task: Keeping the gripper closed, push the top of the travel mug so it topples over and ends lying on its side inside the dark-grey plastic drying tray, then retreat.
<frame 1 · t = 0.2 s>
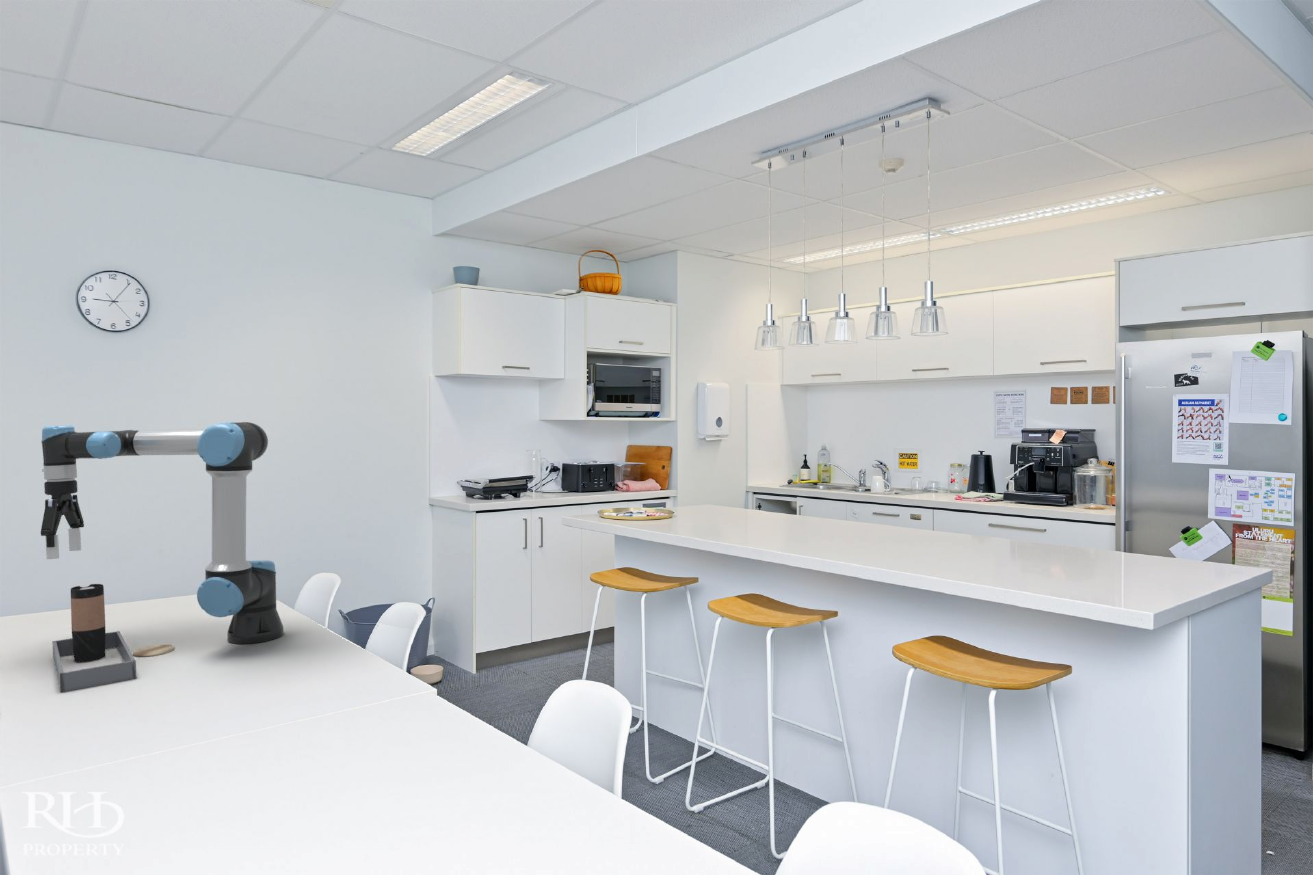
hand: (64, 554, 230), 28 cm above the table, fingers open, 13 cm apart
travel mug: (89, 659, 223), resting in drying tray
cork coaster: (153, 651, 229), on the table
drying tray: (92, 667, 216), on the table
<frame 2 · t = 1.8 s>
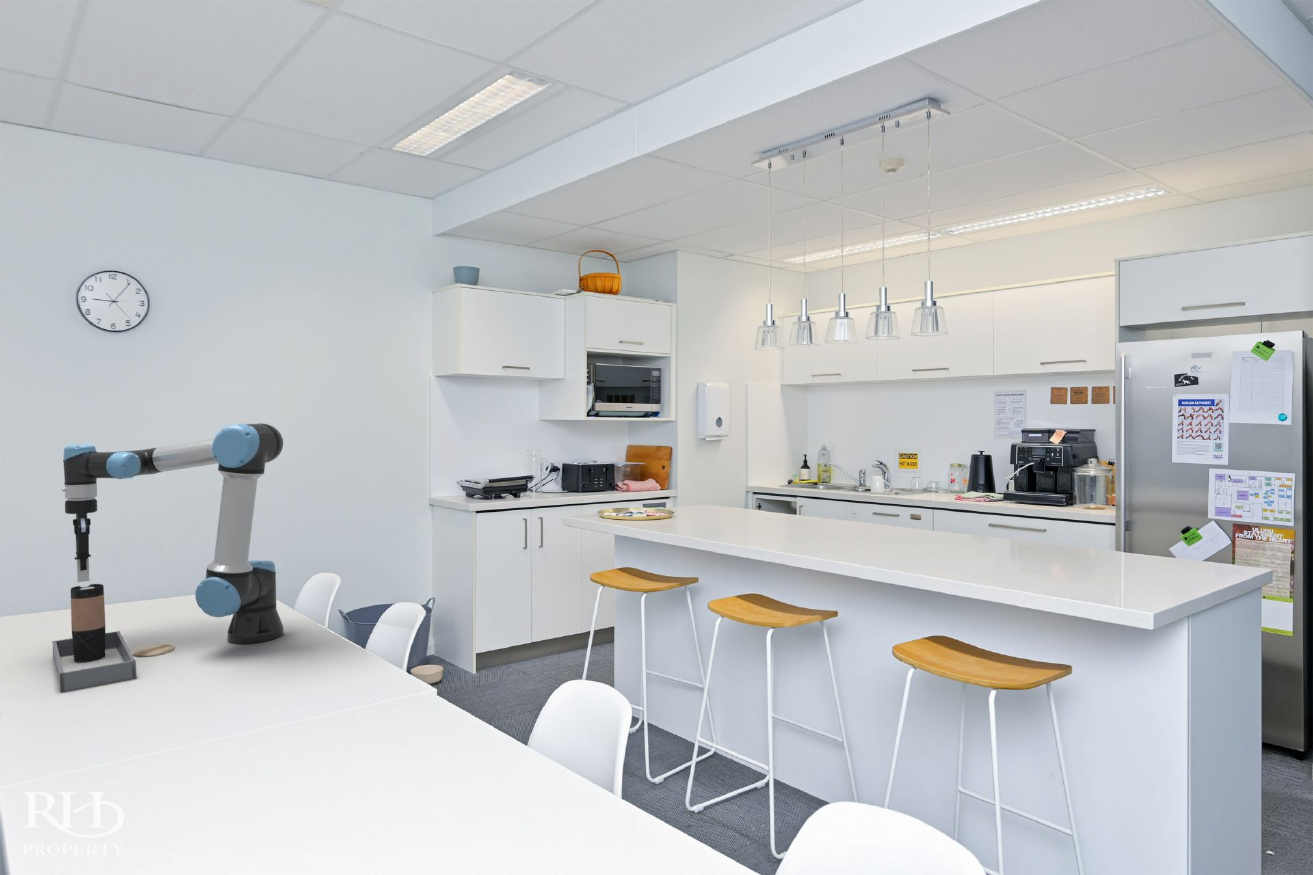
hand: (83, 580, 231), 20 cm above the table, fingers closed
nothing on the table moved.
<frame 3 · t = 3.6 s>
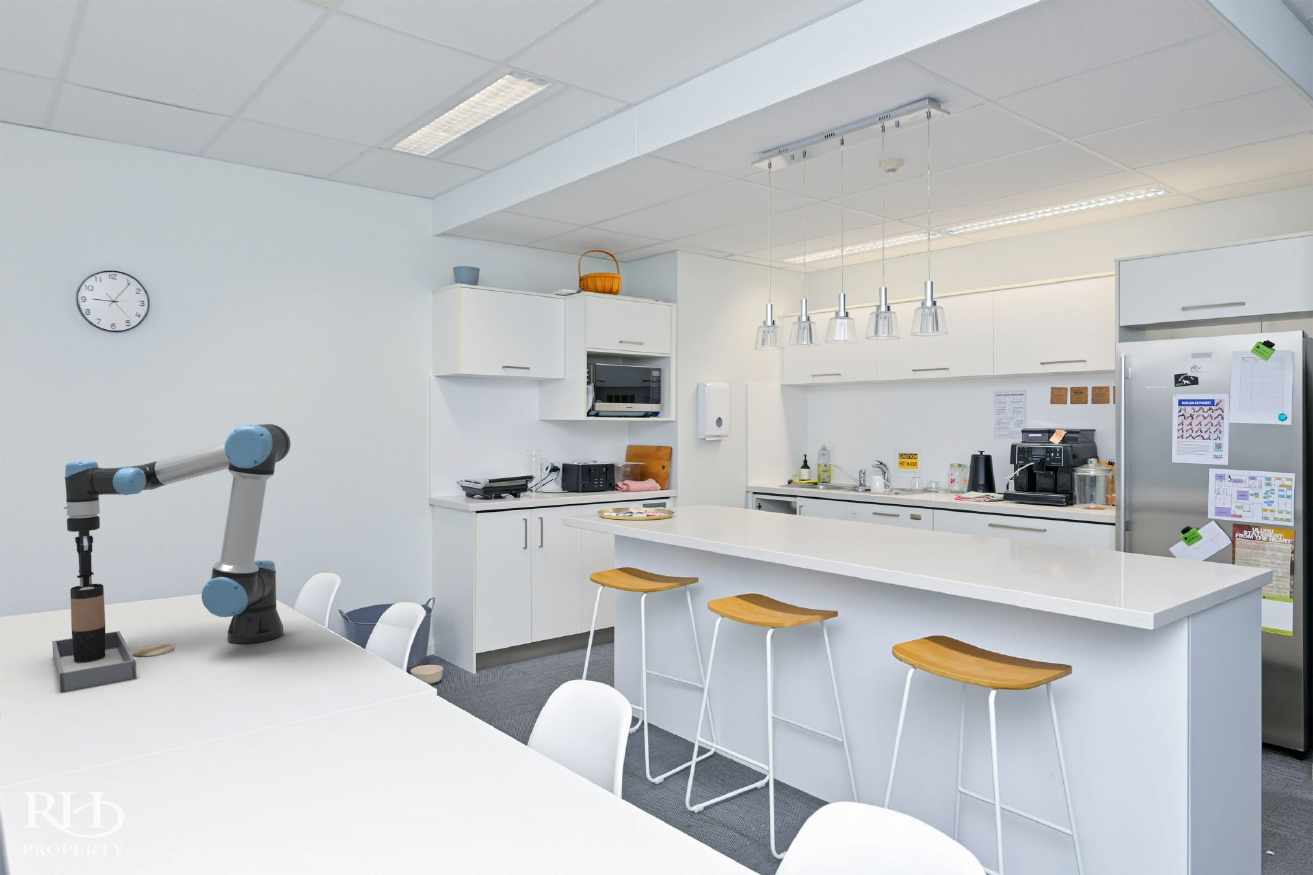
hand: (86, 599, 227), 15 cm above the table, fingers closed
travel mug: (89, 658, 223), resting in drying tray, touching gripper
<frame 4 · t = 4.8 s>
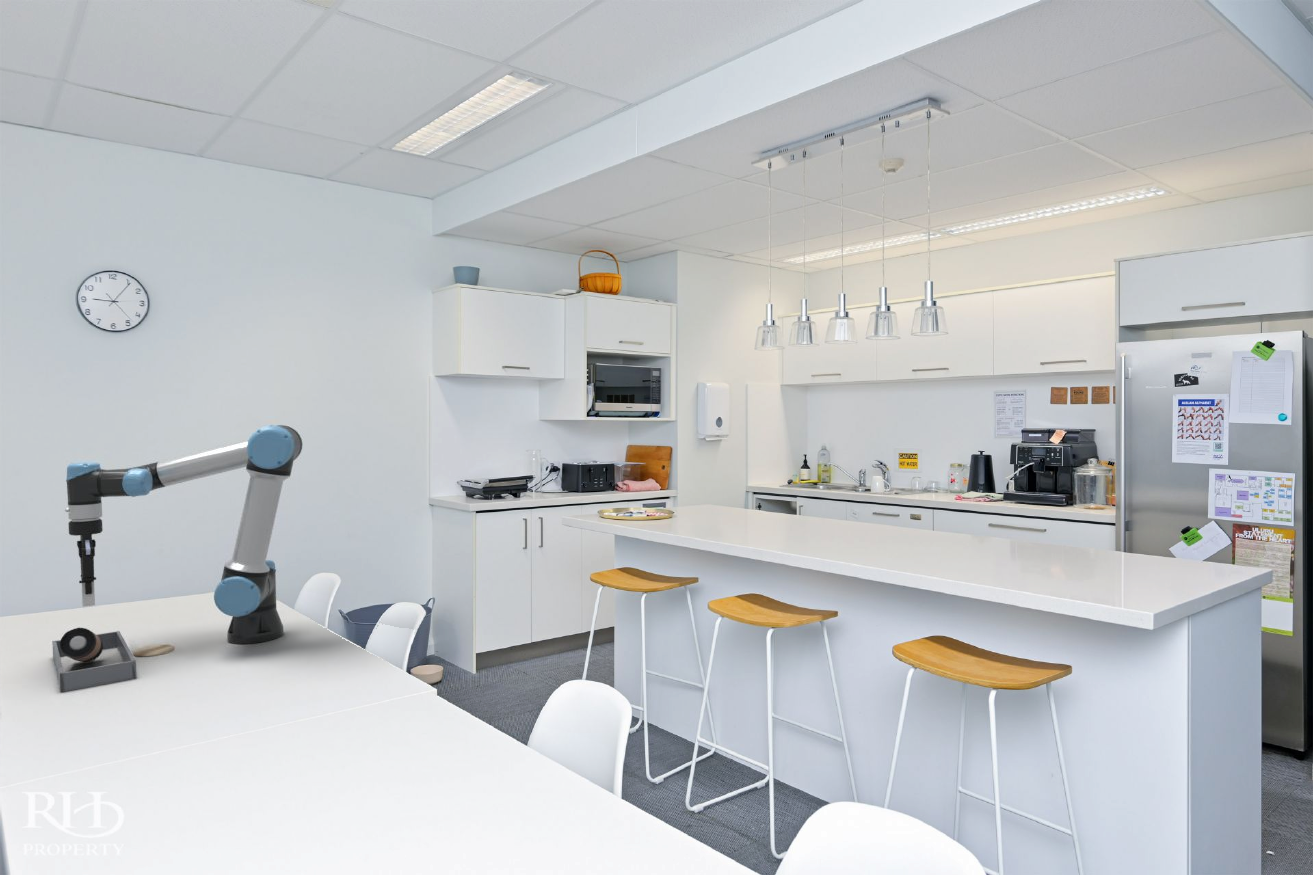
hand: (88, 605, 221), 15 cm above the table, fingers closed
travel mug: (87, 648, 221), point 3 cm above the table
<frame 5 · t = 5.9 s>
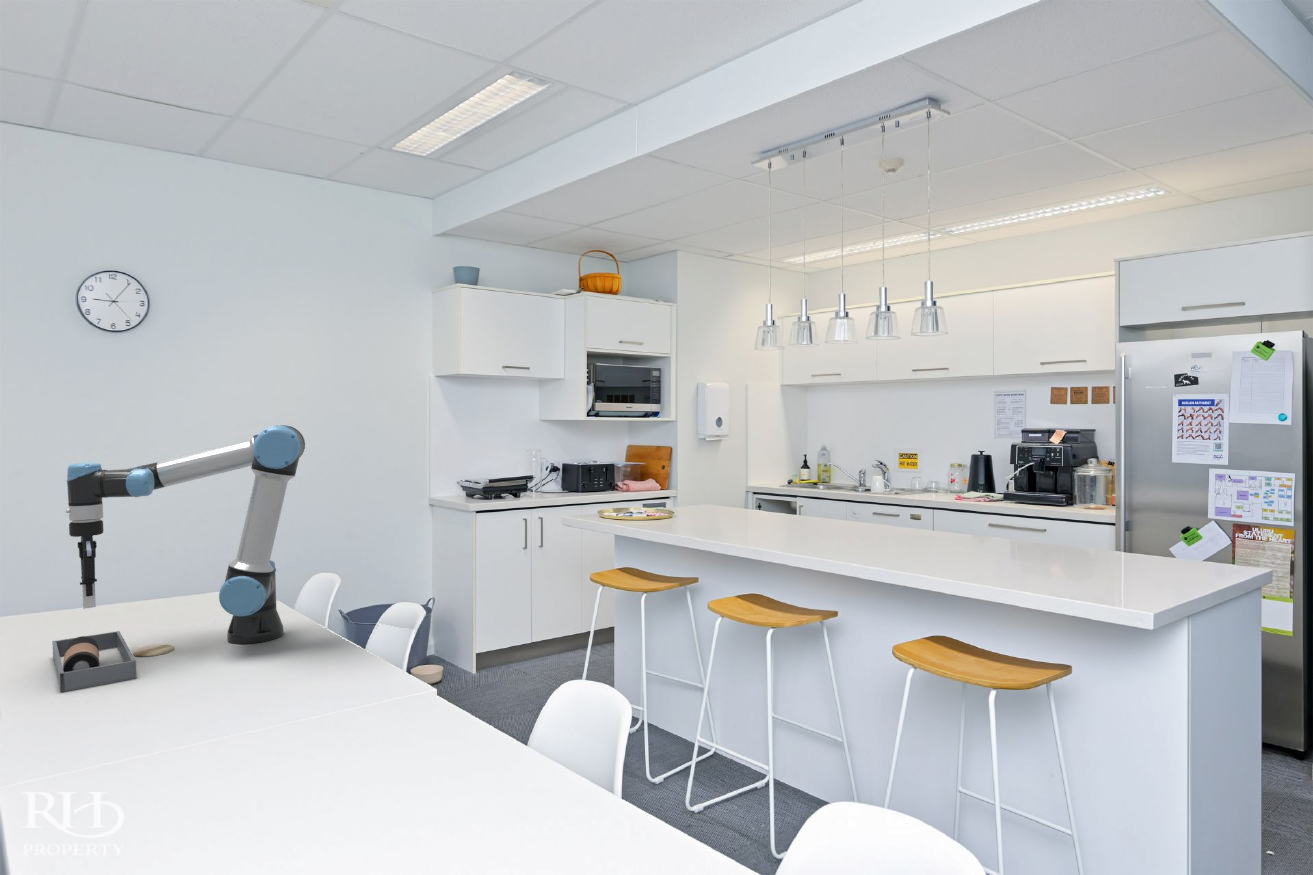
hand: (89, 607, 218), 15 cm above the table, fingers closed
travel mug: (82, 648, 219), point 4 cm above the table
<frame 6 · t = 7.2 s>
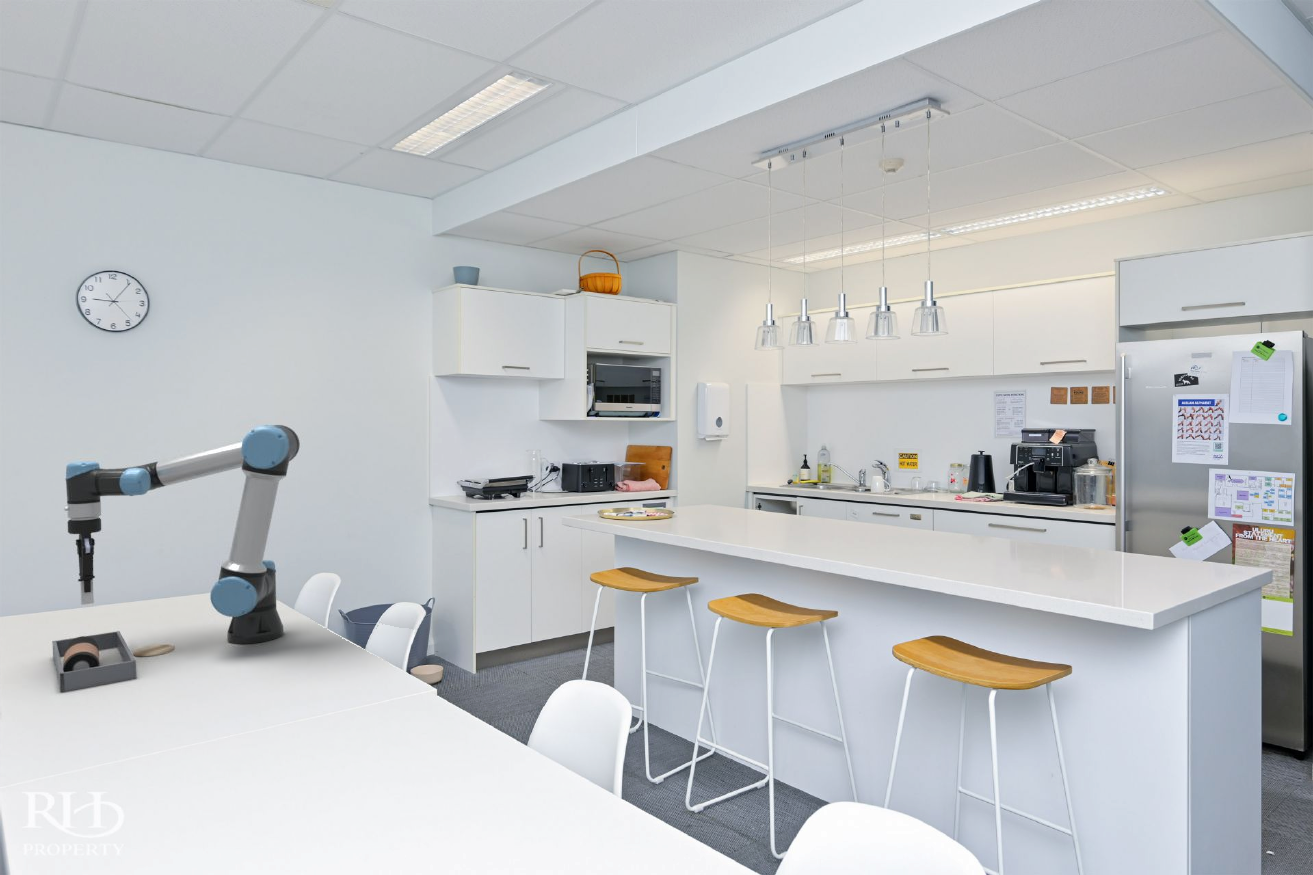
hand: (87, 603, 222), 15 cm above the table, fingers closed
travel mug: (82, 648, 219), point 4 cm above the table, touching drying tray
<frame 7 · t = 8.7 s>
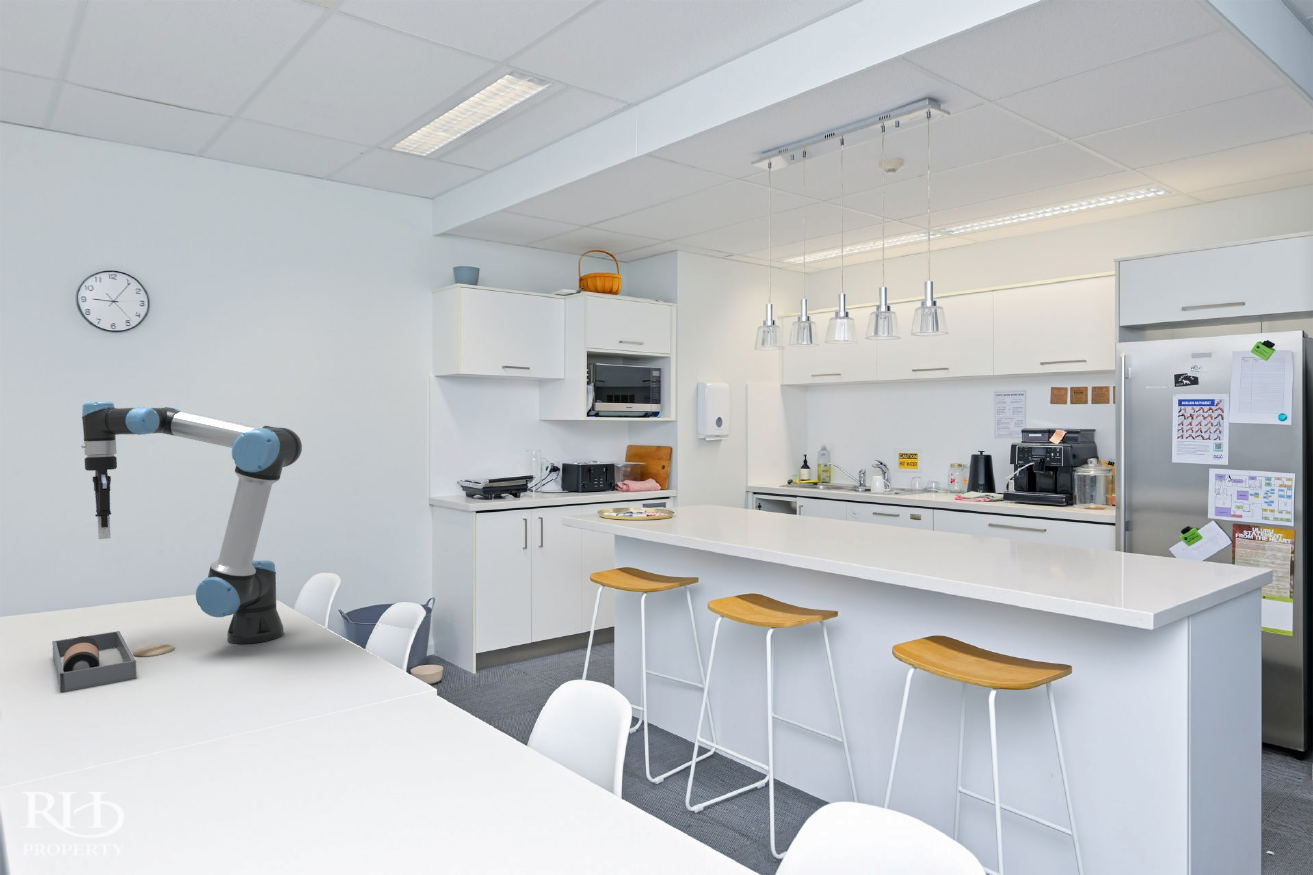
hand: (104, 538, 230), 32 cm above the table, fingers closed
nothing on the table moved.
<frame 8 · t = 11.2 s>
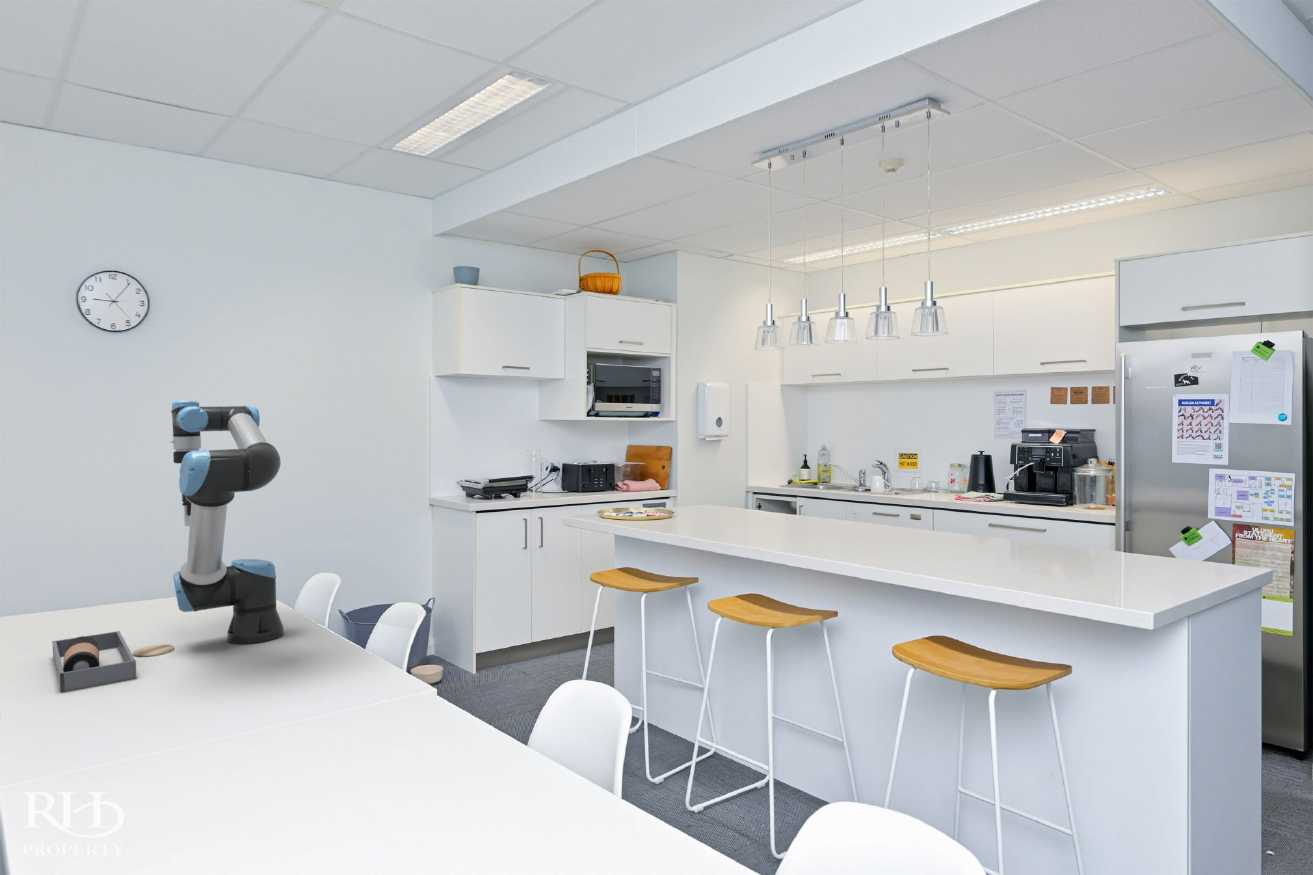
hand: (189, 525, 252), 32 cm above the table, fingers closed
nothing on the table moved.
at the end: travel mug tilted 91°; travel mug 6.5 cm from the drying tray (horizontally); travel mug point 3.9 cm above the table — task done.
